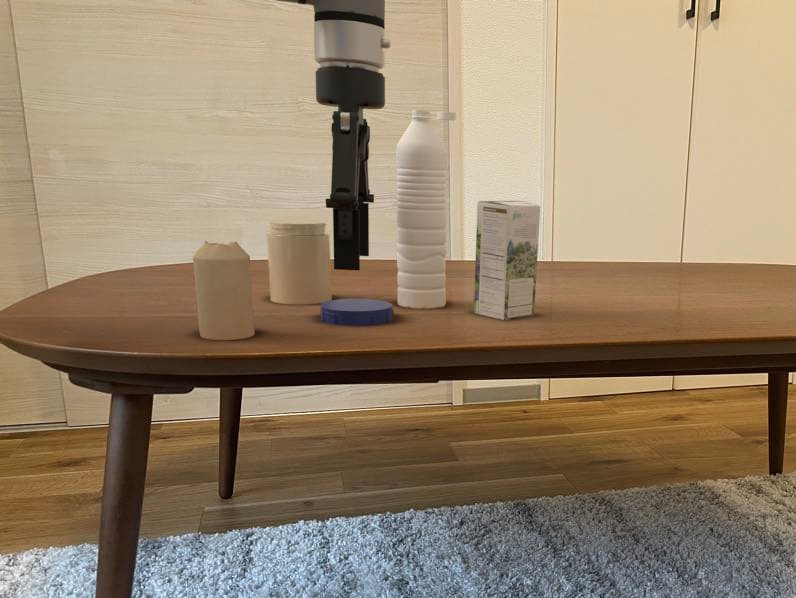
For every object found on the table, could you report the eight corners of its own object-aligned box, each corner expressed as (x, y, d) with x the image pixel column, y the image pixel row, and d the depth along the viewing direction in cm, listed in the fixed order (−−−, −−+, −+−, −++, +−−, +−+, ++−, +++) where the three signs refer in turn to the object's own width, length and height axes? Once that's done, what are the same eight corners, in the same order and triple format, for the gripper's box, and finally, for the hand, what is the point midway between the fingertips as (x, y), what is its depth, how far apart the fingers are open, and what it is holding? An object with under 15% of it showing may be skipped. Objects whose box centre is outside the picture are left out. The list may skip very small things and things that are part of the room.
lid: (362, 311, 100) (361, 296, 99) (407, 321, 95) (407, 305, 95) (306, 319, 94) (305, 303, 93) (352, 330, 89) (351, 314, 88)
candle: (254, 330, 87) (247, 238, 84) (256, 340, 82) (249, 244, 79) (200, 331, 85) (192, 238, 82) (199, 342, 80) (190, 244, 77)
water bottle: (419, 311, 101) (418, 107, 94) (387, 304, 105) (384, 107, 98) (467, 305, 107) (470, 112, 100) (436, 298, 111) (436, 113, 104)
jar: (294, 308, 100) (290, 224, 97) (258, 299, 104) (253, 219, 101) (344, 301, 106) (341, 222, 103) (307, 293, 110) (304, 218, 107)
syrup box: (504, 310, 105) (507, 199, 101) (536, 317, 101) (541, 202, 97) (473, 314, 101) (475, 199, 96) (505, 322, 97) (508, 202, 93)
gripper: (377, 57, 75) (378, 278, 81) (390, 82, 98) (390, 251, 104) (297, 50, 74) (304, 275, 80) (329, 77, 97) (332, 249, 103)
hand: (352, 262), depth 92 cm, fingers open, 13 cm apart
